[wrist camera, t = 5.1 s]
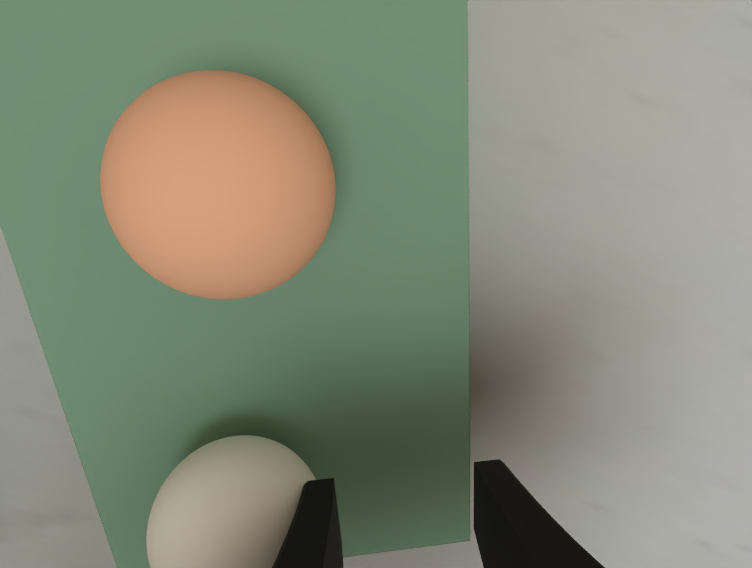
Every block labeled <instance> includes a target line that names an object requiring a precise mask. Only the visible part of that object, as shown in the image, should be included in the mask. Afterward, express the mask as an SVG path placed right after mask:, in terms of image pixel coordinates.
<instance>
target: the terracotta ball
mask: <svg viewBox="0 0 752 568" xmlns="http://www.w3.org/2000/svg"><path fill="white" fill-rule="evenodd" d="M100 185H101V196H102V201H103V206H104V210H105V213H106V216H107V219H108V222H109V224H110V226H111V228H112V230H113V232H114V234H115V236H116V238H117V239H118V241H119V242H120V244H121V245H122V247H123V248H124V250H125V251H126V252H127V253H128V254H129V256H130V257H131V258H132V259H133V260H134V261H135V262H136V263H137V264H138V265H139V266H140V267H141V268H142V269H143V270H145V271H146V272H147V273H149V274H150V275H151V276H152V277H154V278H155V279H157V280H159V281H160V282H162V283H164V284H165V285H167V286H169V287H171V288H174V289H176V290H178V291H180V292H183V293H187V294H190V295H193V296H197V297H202V298H207V299H219V300H227V299H240V298H246V297H251V296H254V295H257V294H261V293H264V292H267V291H269V290H271V289H274V288H276V287H278V286H280V285H281V284H283V283H285V282H286V281H288V280H290V279H291V278H292V277H293V276H295V275H296V274H297V273H298V272H300V271H301V270H302V269H303V267H304V266H305V265H306V264H307V263H308V262H309V261H310V260H311V259H312V258H313V256H314V255H315V254H316V252H317V251H318V250H319V248H320V246H321V244H322V243H323V241H324V239H325V237H326V235H327V232H328V229H329V227H330V224H331V220H332V216H333V212H334V206H335V196H336V186H335V175H334V169H333V164H332V161H331V157H330V154H329V151H328V148H327V146H326V144H325V142H324V139H323V137H322V136H321V134H320V132H319V131H318V129H317V127H316V126H315V124H314V123H313V121H312V120H311V119H310V118H309V116H308V115H307V114H306V113H305V111H304V110H303V109H301V108H300V107H299V106H298V105H297V104H296V103H295V102H294V101H293V100H292V99H291V98H289V97H288V96H287V95H285V94H284V93H283V92H282V91H280V90H278V89H277V88H275V87H273V86H271V85H270V84H268V83H266V82H264V81H261V80H259V79H257V78H254V77H252V76H248V75H245V74H241V73H237V72H231V71H224V70H201V71H194V72H188V73H184V74H180V75H177V76H173V77H170V78H168V79H166V80H163V81H161V82H159V83H157V84H155V85H153V86H152V87H150V88H149V89H147V90H146V91H144V92H143V93H142V94H141V95H139V96H138V97H137V98H136V99H135V100H134V101H133V102H132V103H131V104H130V105H129V106H128V107H127V108H126V109H125V111H124V112H123V113H122V114H121V116H120V117H119V118H118V120H117V121H116V123H115V125H114V127H113V128H112V130H111V132H110V135H109V137H108V140H107V142H106V145H105V149H104V153H103V157H102V163H101V173H100Z"/></svg>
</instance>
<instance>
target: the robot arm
mask: <svg viewBox="0 0 752 568" xmlns="http://www.w3.org/2000/svg"><path fill="white" fill-rule="evenodd" d="M474 530H475V535H476V539H477V543H478V547H479V551H480V555H481V559H482V562H483V566H484V568H605V567H603V566H602V565H601V564H600V563H599V562H598V561H597V560H596V559H595V558H593V557H592V556H591V555H590V554H589V553H588V552H587V551H586V550H585V549H584V548H583V547H582V546H581V545H579V544H578V543H577V542H576V541H575V540H574V539H573V538H572V537H571V536H570V535H569V534H568V533H567V532H566V531H565V530H564V529H563V528H562V527H561V526H560V525H559V524H558V523H557V522H556V521H555V520H554V519H553V518H552V517H551V516H550V514H549V513H548V512H547V511H546V510H545V509H544V508H543V507H542V506H541V505H540V504H539V503H538V502H537V501H536V500H535V498H534V497H533V496H532V495H531V494H530V493H529V492H528V491H527V489H526V488H525V487H524V486H523V485H522V484H521V483H520V481H519V480H518V479H517V478H516V477H515V476H514V474H513V473H512V472H511V471H510V470H509V468H508V467H507V466H506V465H505V464H504V463H503V462H502V461H501V460H500V459H499V460H490V461H481V462H474ZM272 568H343V553H342V539H341V531H340V523H339V515H338V507H337V499H336V491H335V483H334V478H328V479H319V480H310V481H307V482H306V483H305V484H304V486H303V489H302V493H301V496H300V500H299V503H298V506H297V509H296V512H295V514H294V517H293V520H292V522H291V525H290V527H289V530H288V532H287V535H286V537H285V539H284V542H283V544H282V546H281V549H280V551H279V553H278V555H277V558H276V560H275V562H274V564H273V566H272Z"/></svg>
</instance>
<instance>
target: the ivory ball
mask: <svg viewBox="0 0 752 568" xmlns="http://www.w3.org/2000/svg"><path fill="white" fill-rule="evenodd" d="M310 480H316V479H315V477H314V475H313V473H312V472H311V470H310V469H309V467H308V466H307V465H306V464H305V462H304V461H303V460H302V459H301V458H300V457H299V456H298V455H297V454H296V453H294V452H293V451H292V450H291V449H289V448H288V447H286V446H284V445H283V444H281V443H279V442H276V441H274V440H271V439H268V438H264V437H260V436H252V435H239V436H231V437H226V438H222V439H219V440H216V441H213V442H210V443H208V444H206V445H204V446H202V447H200V448H199V449H197V450H196V451H194V452H193V453H191V454H190V455H188V456H187V457H186V458H185V459H184V460H183V461H182V462H181V463H179V464H178V465H177V466H176V467H175V468H174V470H173V471H172V472H171V473H170V474H169V476H168V477H167V479H166V480H165V482H164V483H163V485H162V486H161V488H160V490H159V492H158V494H157V496H156V498H155V501H154V503H153V505H152V509H151V512H150V516H149V520H148V526H147V535H146V541H147V556H148V561H149V565H150V568H272V566H273V564H274V562H275V560H276V558H277V555H278V553H279V551H280V549H281V546H282V544H283V542H284V539H285V537H286V535H287V532H288V530H289V527H290V525H291V522H292V520H293V517H294V514H295V512H296V509H297V506H298V503H299V500H300V496H301V493H302V489H303V486H304V484H305V483H306V482H307V481H310Z"/></svg>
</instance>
